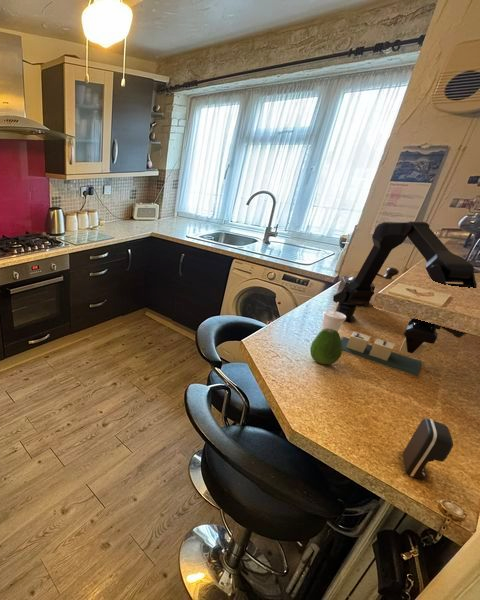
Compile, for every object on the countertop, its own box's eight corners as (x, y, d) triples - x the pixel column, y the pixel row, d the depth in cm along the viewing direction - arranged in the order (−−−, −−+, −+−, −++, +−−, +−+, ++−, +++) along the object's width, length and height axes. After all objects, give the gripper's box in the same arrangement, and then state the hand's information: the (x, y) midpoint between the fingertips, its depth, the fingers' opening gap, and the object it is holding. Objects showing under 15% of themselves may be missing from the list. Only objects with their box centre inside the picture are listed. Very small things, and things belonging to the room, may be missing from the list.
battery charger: (430, 486, 64) (459, 445, 59) (404, 475, 66) (430, 435, 61) (425, 461, 69) (451, 422, 64) (401, 452, 71) (424, 413, 66)
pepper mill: (338, 302, 141) (352, 263, 133) (335, 294, 150) (348, 257, 142) (383, 310, 134) (401, 270, 126) (378, 301, 142) (394, 262, 135)
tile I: (371, 349, 107) (376, 337, 105) (389, 355, 104) (395, 343, 102) (368, 354, 104) (374, 342, 102) (387, 361, 101) (392, 348, 99)
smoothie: (330, 334, 117) (343, 299, 111) (341, 343, 111) (355, 307, 105) (311, 333, 117) (323, 298, 112) (321, 342, 112) (335, 306, 106)
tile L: (349, 342, 111) (354, 331, 109) (365, 347, 108) (370, 336, 106) (346, 347, 108) (350, 335, 106) (362, 353, 105) (368, 340, 103)
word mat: (343, 337, 115) (343, 336, 114) (420, 362, 101) (421, 361, 101) (335, 349, 108) (335, 348, 108) (416, 377, 94) (417, 376, 94)
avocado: (303, 353, 106) (314, 321, 101) (331, 358, 103) (344, 326, 98) (309, 367, 99) (321, 334, 94) (340, 372, 96) (354, 339, 91)
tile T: (400, 346, 101) (407, 333, 99) (420, 352, 98) (427, 339, 96) (398, 352, 98) (405, 339, 96) (418, 358, 95) (426, 345, 93)
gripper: (477, 324, 80) (447, 374, 87) (476, 303, 91) (450, 349, 98) (415, 309, 88) (392, 357, 94) (422, 291, 99) (401, 335, 105)
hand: (410, 349), depth 98 cm, fingers closed on tile T, 4 cm apart
